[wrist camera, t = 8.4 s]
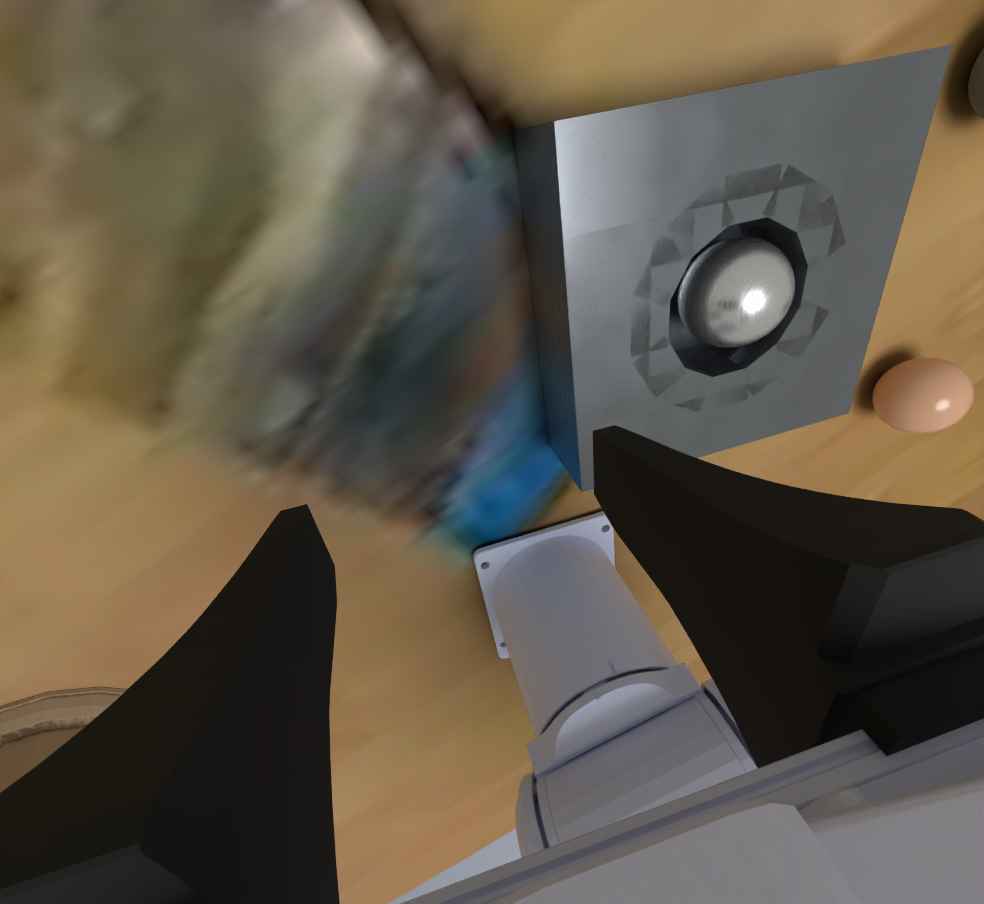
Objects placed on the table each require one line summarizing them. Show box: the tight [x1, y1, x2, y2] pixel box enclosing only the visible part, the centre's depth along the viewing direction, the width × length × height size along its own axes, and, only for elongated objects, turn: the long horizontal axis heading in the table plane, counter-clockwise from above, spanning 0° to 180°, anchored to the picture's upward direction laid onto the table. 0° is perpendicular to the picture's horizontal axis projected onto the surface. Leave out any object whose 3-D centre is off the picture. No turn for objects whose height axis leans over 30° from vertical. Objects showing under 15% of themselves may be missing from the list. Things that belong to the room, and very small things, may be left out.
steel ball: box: [677, 237, 795, 347], centre depth 18 cm, size 4×4×4 cm
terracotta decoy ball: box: [872, 358, 974, 434], centre depth 25 cm, size 4×4×4 cm
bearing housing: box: [513, 45, 953, 492], centre depth 19 cm, size 13×13×4 cm
